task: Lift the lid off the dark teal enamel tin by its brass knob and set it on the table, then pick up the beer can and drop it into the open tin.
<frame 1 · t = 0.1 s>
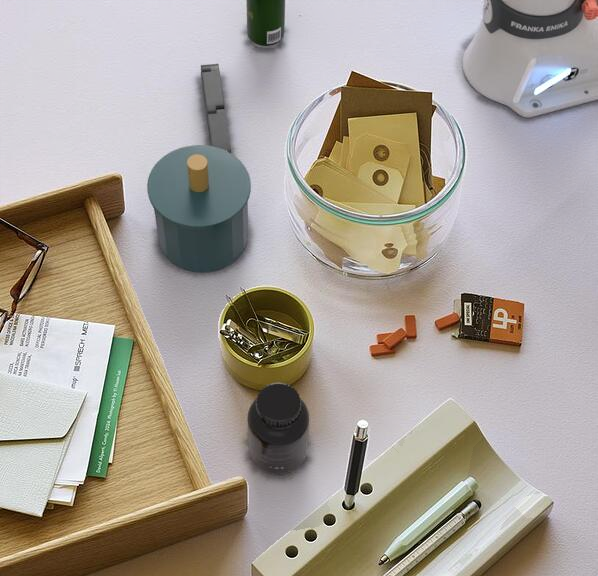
lid: (199, 187, 126), point 9 cm above the table, touching tin
tin: (203, 236, 135), on the table
beer can: (265, 37, 151), on the table
grey notched bar: (216, 125, 143), on the table
supplement bottle: (277, 450, 121), on the table
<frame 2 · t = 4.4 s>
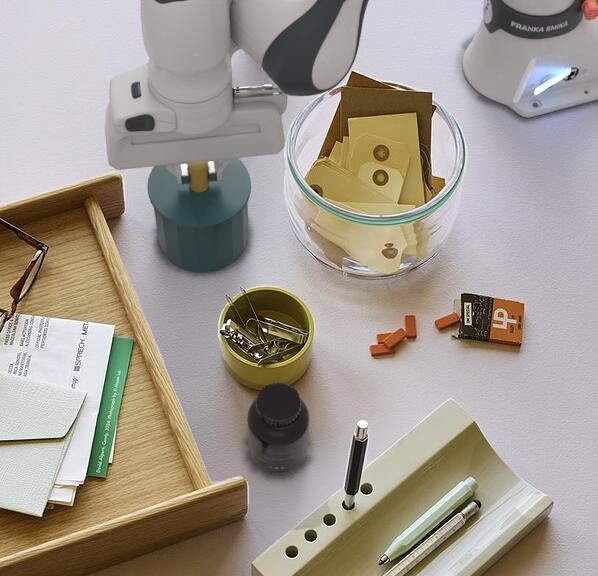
hand: (198, 178, 125), 11 cm above the table, tool pointing down, fingers closed on lid, 2 cm apart
lid: (199, 187, 126), point 10 cm above the table, touching gripper, tin
everything else where it was.
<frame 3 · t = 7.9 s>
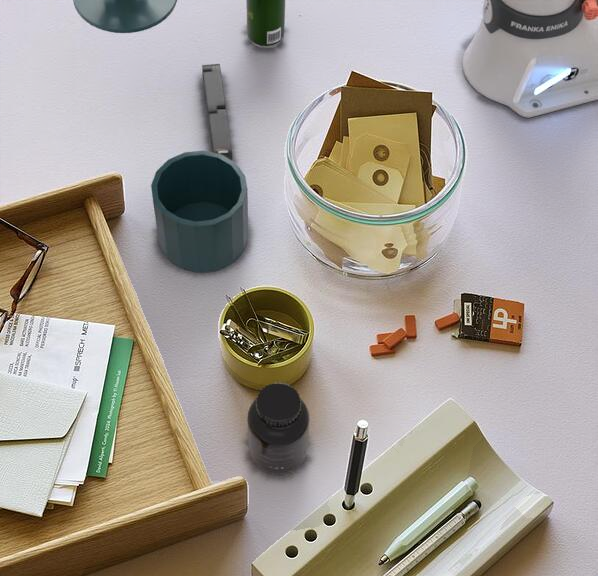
when the fingers open (2 cm above the table, at t = 11.7 s): lid stays where it is, point 1 cm above the table.
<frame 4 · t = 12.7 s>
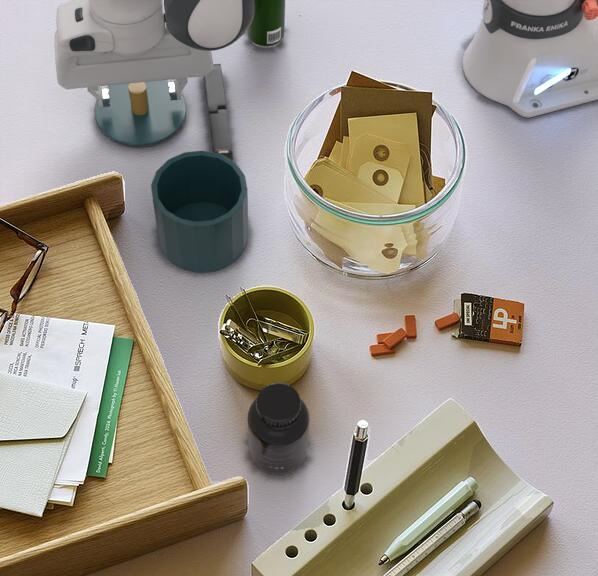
hand: (140, 100, 141), 3 cm above the table, tool pointing down, fingers open, 8 cm apart
lid: (140, 111, 143), point 1 cm above the table
everything else where it was.
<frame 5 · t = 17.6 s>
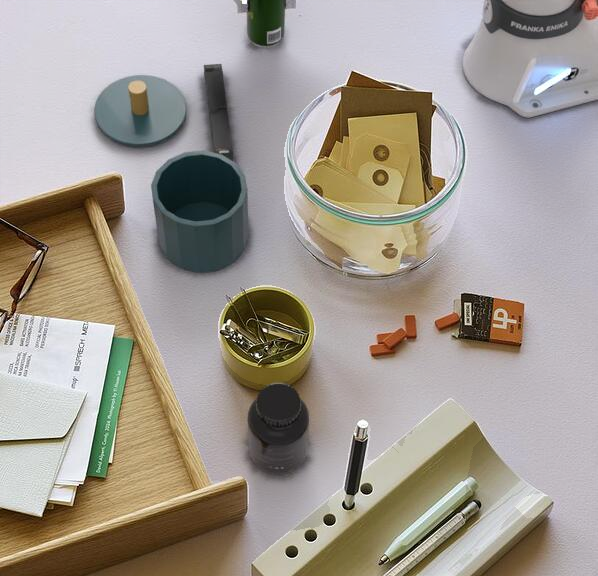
hand: (265, 7, 146), 5 cm above the table, tool pointing down, fingers closed on beer can, 5 cm apart
beer can: (265, 37, 151), on the table, touching gripper
everything else where it was.
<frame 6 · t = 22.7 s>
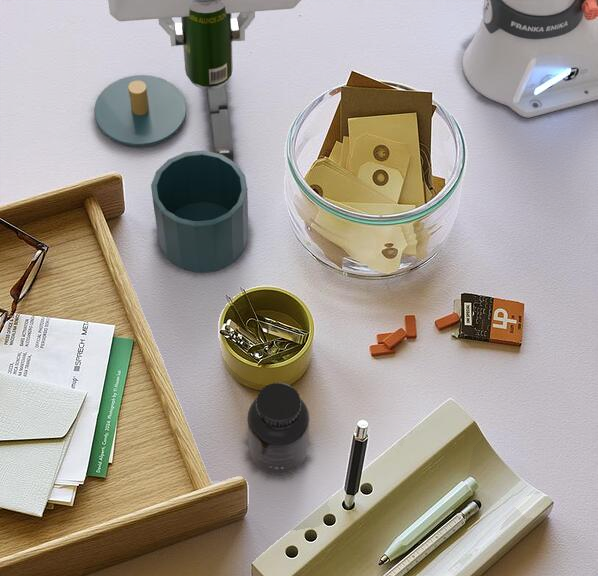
hand: (207, 39, 115), 26 cm above the table, tool pointing down, fingers closed on beer can, 5 cm apart
beer can: (209, 75, 120), point 20 cm above the table, touching gripper
everything else where it was.
when the fingers open (8 cm above the table, at t = 28.4 s): beer can stays where it is, resting on tin.
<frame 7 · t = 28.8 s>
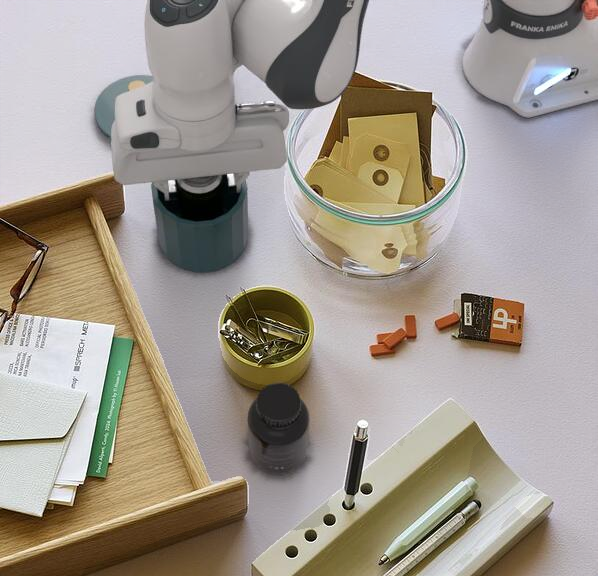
hand: (202, 192, 127), 8 cm above the table, tool pointing down, fingers open, 6 cm apart
beer can: (203, 233, 134), resting on tin
everything else where it was.
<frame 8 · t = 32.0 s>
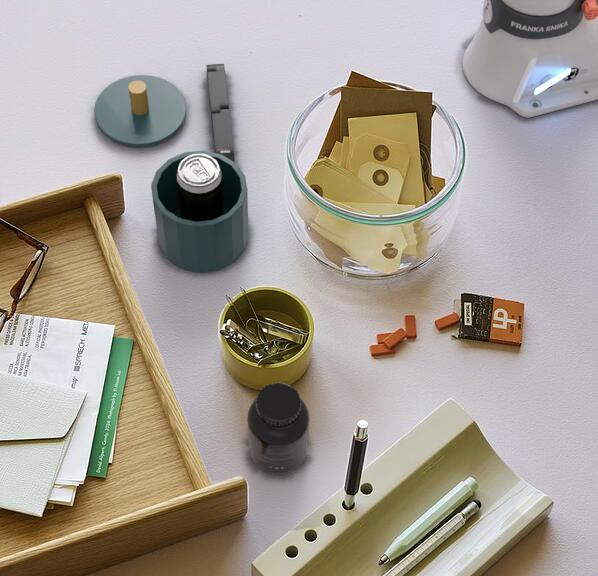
nothing on the table moved.
at the end: lid inside the target area (0.0 cm from its centre), point 0.6 cm above the table; lid tilted 0°; beer can inside the target area in the tin (0.1 cm from its centre), point 0.3 cm above the tin's base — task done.
